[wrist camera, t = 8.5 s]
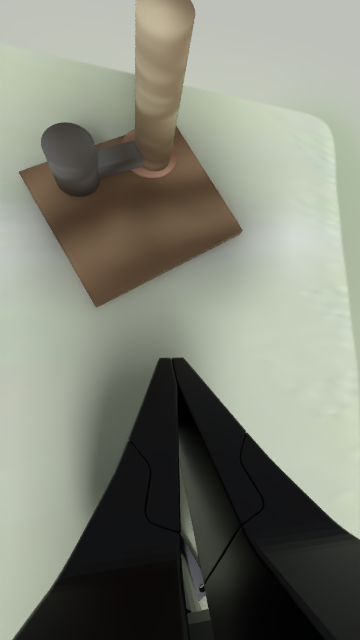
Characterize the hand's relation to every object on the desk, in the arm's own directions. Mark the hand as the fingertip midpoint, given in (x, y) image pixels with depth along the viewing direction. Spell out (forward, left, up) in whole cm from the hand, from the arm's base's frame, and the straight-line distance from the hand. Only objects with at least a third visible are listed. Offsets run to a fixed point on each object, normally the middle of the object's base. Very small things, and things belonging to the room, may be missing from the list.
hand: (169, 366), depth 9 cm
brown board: (+13, -6, -13) cm, 19 cm away
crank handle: (+17, -6, -11) cm, 21 cm away
